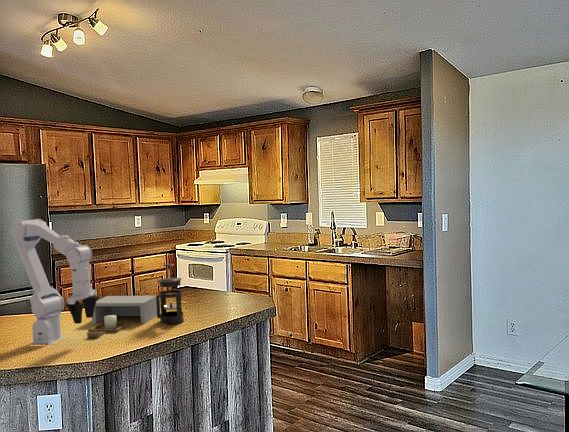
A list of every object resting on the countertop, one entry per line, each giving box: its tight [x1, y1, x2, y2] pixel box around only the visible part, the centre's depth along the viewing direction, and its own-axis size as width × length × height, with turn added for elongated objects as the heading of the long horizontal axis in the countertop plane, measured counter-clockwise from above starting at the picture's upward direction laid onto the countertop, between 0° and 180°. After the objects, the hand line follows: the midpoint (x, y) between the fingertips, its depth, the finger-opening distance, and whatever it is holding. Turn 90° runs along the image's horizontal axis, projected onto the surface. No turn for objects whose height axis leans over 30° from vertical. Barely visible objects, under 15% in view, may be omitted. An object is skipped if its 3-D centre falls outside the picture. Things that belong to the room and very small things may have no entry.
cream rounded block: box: [103, 315, 118, 329], centre depth 197 cm, size 4×4×4 cm
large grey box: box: [91, 295, 157, 325], centre depth 209 cm, size 13×22×9 cm, turn 81°
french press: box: [155, 263, 185, 326], centre depth 203 cm, size 12×9×23 cm
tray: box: [86, 322, 130, 340], centre depth 192 cm, size 17×11×2 cm, turn 171°
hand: (83, 320), depth 179 cm, fingers open, 7 cm apart
